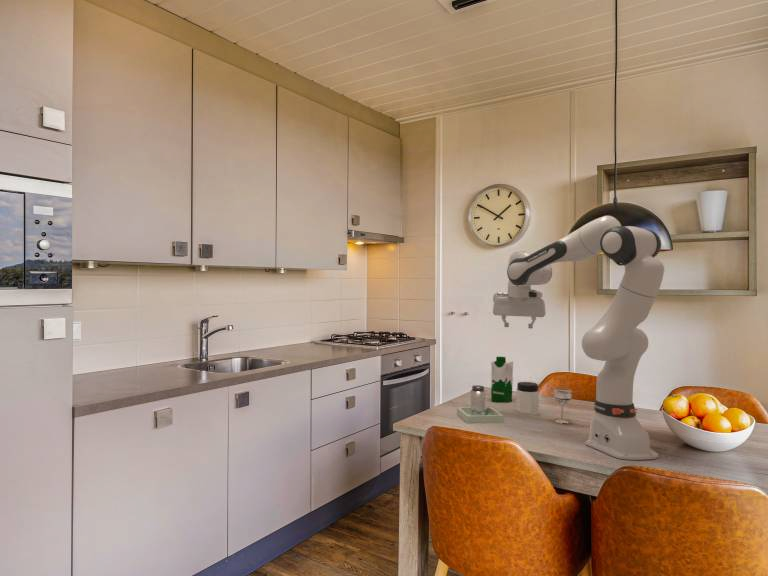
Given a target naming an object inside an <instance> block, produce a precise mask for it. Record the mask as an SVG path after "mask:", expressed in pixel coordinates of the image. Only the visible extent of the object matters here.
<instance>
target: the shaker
mask: <svg viewBox="0 0 768 576" xmlns="http://www.w3.org/2000/svg"><path fill="white" fill-rule="evenodd" d="M470 407H471V411H470V416H480V415H485V407H486V390H485V386H483V385H472V386H471V389H470Z"/></svg>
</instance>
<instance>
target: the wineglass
mask: <svg viewBox="0 0 768 576" xmlns="http://www.w3.org/2000/svg"><path fill="white" fill-rule="evenodd" d="M572 393H573V392H572V390H571V389H564V388H554V389H553V395H552V397H553V399H554V401H555V403H558V404H559V405H560V407H561V409H560V411H561V412H560V414H561V415H560V416H561V417H560V418H561V419H558V420H557V419H556V420H554V422H555V423H557V424H562V423H567V424H569V423H568V422H569V421H567V420H565V419H563V417H564V406H565V405H566V404H568V403H570V402H571V400H572V398H573V397H572Z"/></svg>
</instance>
